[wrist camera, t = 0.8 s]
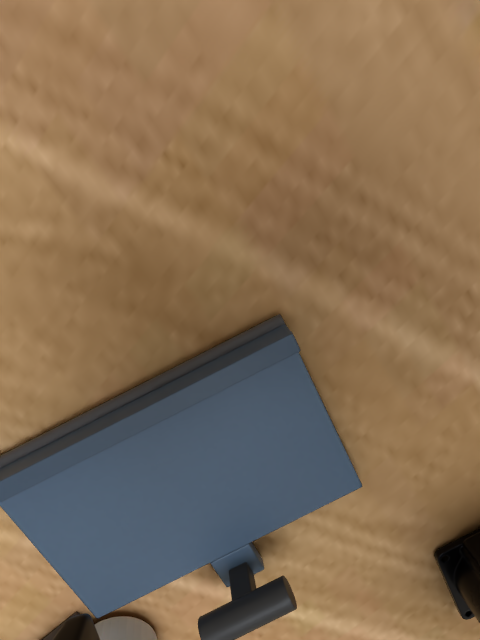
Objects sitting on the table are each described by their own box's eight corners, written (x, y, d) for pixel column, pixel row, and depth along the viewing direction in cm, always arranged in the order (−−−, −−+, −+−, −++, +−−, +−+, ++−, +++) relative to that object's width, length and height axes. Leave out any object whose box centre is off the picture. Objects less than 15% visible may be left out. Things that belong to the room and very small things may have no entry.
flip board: (371, 505, 26) (405, 563, 22) (119, 631, 26) (108, 710, 22) (278, 312, 22) (300, 339, 18) (-22, 464, 22) (-67, 525, 18)
